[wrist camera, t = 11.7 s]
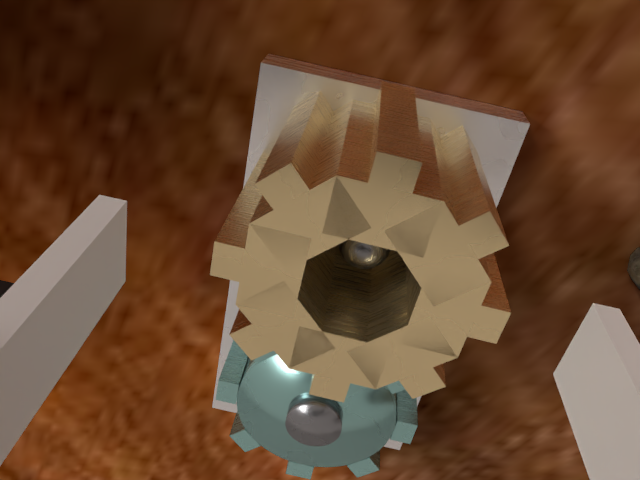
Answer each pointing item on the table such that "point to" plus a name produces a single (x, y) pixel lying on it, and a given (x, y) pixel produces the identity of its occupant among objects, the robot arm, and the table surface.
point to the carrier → (269, 370)
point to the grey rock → (635, 267)
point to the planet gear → (370, 228)
